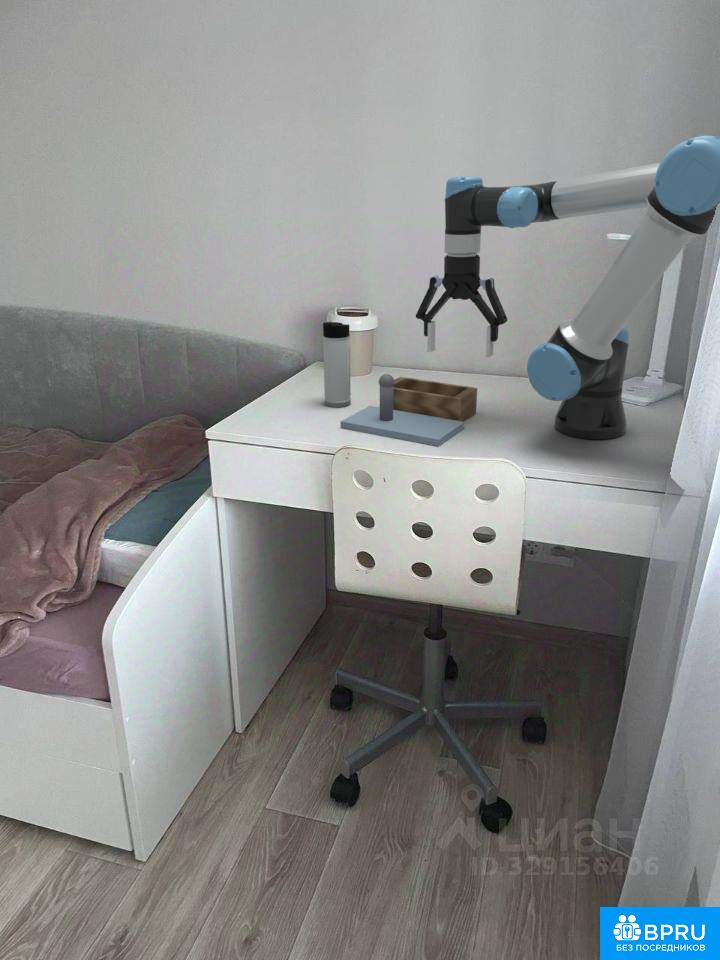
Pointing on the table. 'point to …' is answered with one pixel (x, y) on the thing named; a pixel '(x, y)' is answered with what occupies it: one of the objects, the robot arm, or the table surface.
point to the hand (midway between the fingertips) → (459, 353)
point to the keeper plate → (401, 421)
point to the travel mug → (336, 364)
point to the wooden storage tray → (434, 398)
